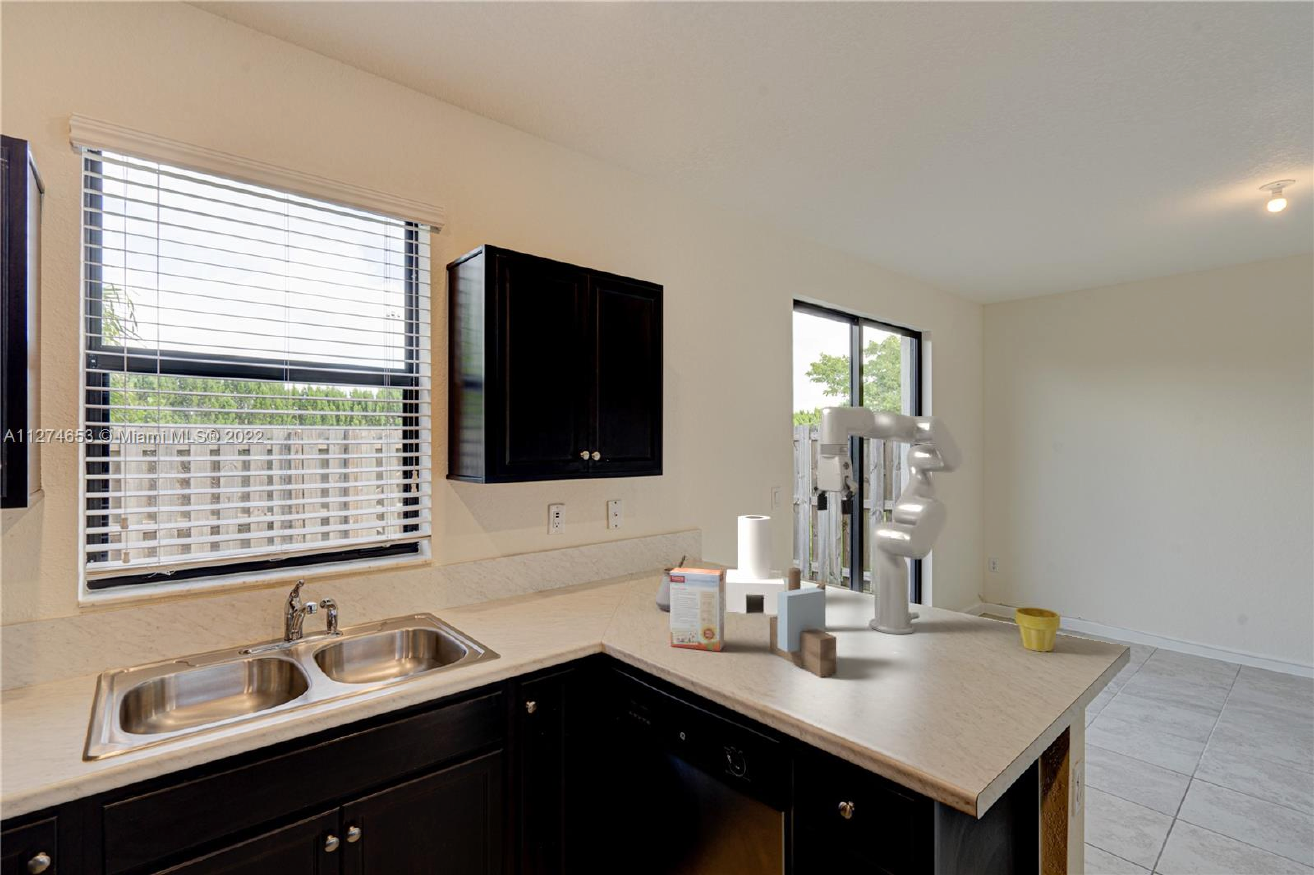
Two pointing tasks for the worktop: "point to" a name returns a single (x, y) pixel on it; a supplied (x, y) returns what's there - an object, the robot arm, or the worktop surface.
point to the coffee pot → (666, 588)
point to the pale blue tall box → (799, 615)
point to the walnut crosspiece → (808, 650)
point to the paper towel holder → (753, 567)
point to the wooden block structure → (798, 580)
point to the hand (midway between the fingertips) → (834, 512)
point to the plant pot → (1037, 627)
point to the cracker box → (697, 608)
